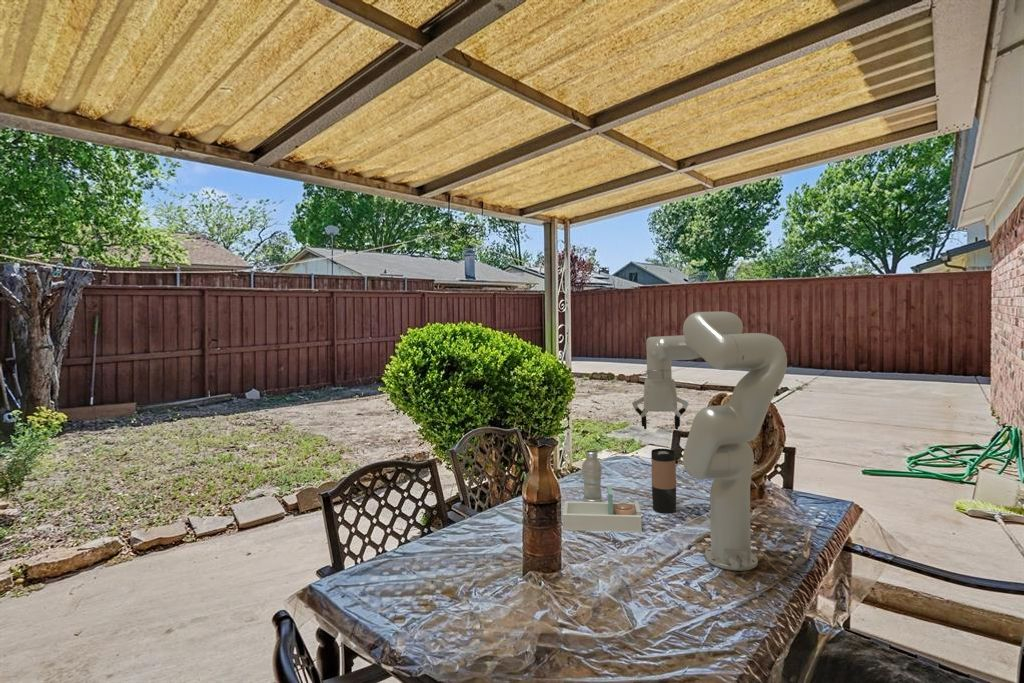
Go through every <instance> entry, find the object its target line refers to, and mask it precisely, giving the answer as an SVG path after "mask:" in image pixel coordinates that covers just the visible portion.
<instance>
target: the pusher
mask: <svg viewBox="0 0 1024 683" xmlns="http://www.w3.org/2000/svg"><path fill="white" fill-rule="evenodd" d="M613 499H614V497H613V488H612V485H607V502H608V515H613V502H614V500H613Z"/></svg>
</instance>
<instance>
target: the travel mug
mask: <svg viewBox="0 0 1024 683" xmlns="http://www.w3.org/2000/svg"><path fill="white" fill-rule="evenodd" d="M650 455H651V456H650V457H651V458H650V459H651V492H652V493H651V496H652V498H651V499H652V509H653V511H654V512H656V513H659V514H666V515H669V514H674V513H676V512H677V470H676V469H677V466H676V465H677V464H676V451H675V450H673V449H670V448H654V449H651V454H650Z"/></svg>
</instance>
